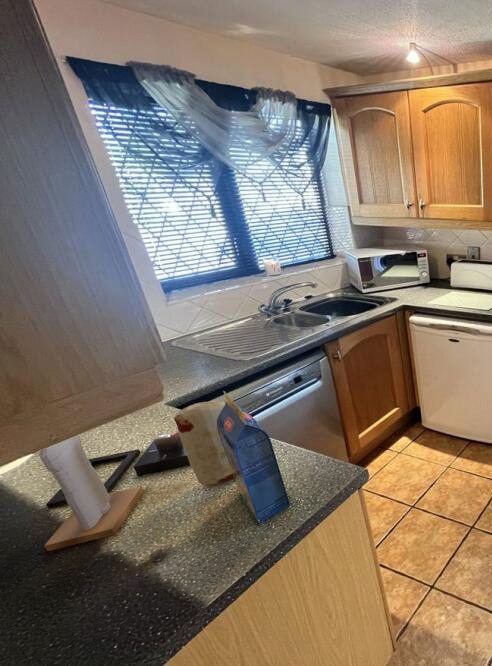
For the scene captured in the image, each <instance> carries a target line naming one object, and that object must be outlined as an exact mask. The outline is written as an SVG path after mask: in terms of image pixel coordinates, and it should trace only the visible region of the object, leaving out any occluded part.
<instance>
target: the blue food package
mask: <svg viewBox="0 0 492 666" xmlns="http://www.w3.org/2000/svg"><path fill="white" fill-rule="evenodd" d="M222 392H223V394H224V398H225V400H226V402H225V406H224V407H223V409H222V411H221V412H220V414H219V416H218V418H217V430H218V433H219V436H220V439H221V442H222V444H223V447H224V450H225V453H226V455H227V458H228V461H229V464H230V467H231V469H232V472H233V475H234V480H235V483H236V487H237V489H238V491H239V494H240V495H241V497H242V500H243V501H244V503H245V504H246V506H247V507H248V509H249V511H250V512H251V514H252V515H253V517H254V518H255V519H256V520H257V522H258V523H261V522H263V521H265V520H266V519H268V518H270V517H272V516H274V515H275V514H277V513H279V512H281V511H282V510H284V509H286V508H287V507H289V506H290V505H291V503H290V500H289V497H288V494H287V490H286V486H285V482H284V480H283V477H282V473H281V469H280V466H279V463H278V460H277V456H276V453H275V449H274V446H273V444H272V440H271V438H270V436H269V434H268V433H267V432H266V431H265V430H264V429H263V428H262V426H261V425H260V423H259V422H258V421H257V420H256V419H255V418H254V417H253V416H252V415H251V414H250V413H249V412H248V411H247V410H246V409H245V408H244V407H242V406H240V405H237V404H236V403H235V401H233V399H231V397H230V396H229V395H228V394H227V393H226V391H224V390H223V391H222Z"/></svg>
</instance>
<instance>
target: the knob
mask: <svg viewBox="0 0 492 666" xmlns="http://www.w3.org/2000/svg"><path fill="white" fill-rule="evenodd" d="M153 441H154V443H155V445H156V447H157V449H158V452H160V451H165V450H170V449H174V448H179V447H181V446H182V443H181V440H180V436H179V432H178V431H174V432H172V433H166V434H162V435H161V434H160V435H155V438H154V439H153Z"/></svg>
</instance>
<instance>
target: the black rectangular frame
mask: <svg viewBox="0 0 492 666" xmlns="http://www.w3.org/2000/svg"><path fill="white" fill-rule="evenodd" d="M141 453H142V451H140V449H139V448H138V449H132V450H128V451H122V452H117V453H113V454H108V455H102V456H97V457H93V458H92V457H91V458H88V460H89V461H90V463H91V465H92V467H93V468H94V467H95V466H99V465H103V464H110V463H114V462H120V461H121V462H120V464H119V465H118V467H116V469H115V470H114V471H113V472H112V474H111V475H109V477H108V479H107V480H106V481H105V482H104V483H103V484H104V486H105V488H106V490H107V492H108V493H112V490H113V489H114V488H115V486H116V485H117V484H118V483H119V482H120V480H121V479H122V478H123V477H124V475H125V474H126V472H127V471H128V470H129V469H130V467H131V466H132V465H133V463H134V462H135V461H136V460H137V458H138V457H139V456H140V454H141ZM66 505H68V503H67V501H66V498H65V495H64V493H63V491H62V489H61V488H60V489H59V490H58V491H57V492H56V493H55V494H54V495H53V496H52V497H51V498H50V499H49V500H48V501H47V502H46V503H45V506H46V507H47V509H53V508H56V507H61V506H66Z"/></svg>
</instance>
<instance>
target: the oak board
mask: <svg viewBox="0 0 492 666" xmlns="http://www.w3.org/2000/svg"><path fill="white" fill-rule="evenodd" d="M144 492H145V490H144V488H143V486H142V485H140V486H135V487H131V488H127V489H122V490H117V491H113V492H112V491H111V492H110V493H108V494H109V496H110V501H109V504H110V506H111V507H110V509H109V511H108V512H106V513H105V514H104V515H102V517H101V518H100V519H99V521H98V522H97V523H96V524H95V525H94V526H93V527H92V528H91V529H89V530H87V531H84V530H83V529H82V528H81V526H80V524H79V522H78V521H77V519H76V517H75V515H74V514H73V512H72V511H71V513H70V514H69V516H68V517H67V518H65V520H64V521H63V523H62V524H61V525H60V526H59V527H58V528H57V530H55V532H54V533H53V534H52V536H51V537H50V538H49V539H48V540H47V542H46V543H45V544H44V545H43V547H44V548H45V549H46V551H47V552H51V551H55V550H59V549H63V548H66V547H71V546H75V545H78V544H83V543H87V542H89V541H90V542H91V541H95V540H97V539H102V538H106V537H109V536H115V535H116V534H117V532H118V531H119V529H120V528H121V526H122V525H123V524H124V522H125V521H126V519H127V517H128V516H129V514H130V513H131V511H132V510H133V508H134V507H135V506H136V504H137V502H138V501H139V499H140V498H141V496H142V495H143V493H144Z"/></svg>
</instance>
